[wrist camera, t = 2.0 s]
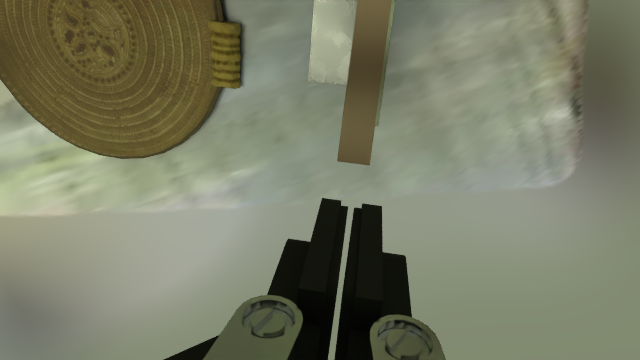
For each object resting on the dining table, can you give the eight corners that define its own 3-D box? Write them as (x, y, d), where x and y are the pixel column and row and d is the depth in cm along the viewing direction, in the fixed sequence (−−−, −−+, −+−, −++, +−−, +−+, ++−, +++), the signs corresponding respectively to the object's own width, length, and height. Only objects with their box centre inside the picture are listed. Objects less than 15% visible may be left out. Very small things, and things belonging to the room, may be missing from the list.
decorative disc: (-90, -138, 39) (222, -146, 35) (-55, -130, 42) (236, -136, 38) (3, 154, 51) (243, 175, 47) (25, 144, 54) (252, 163, 50)
